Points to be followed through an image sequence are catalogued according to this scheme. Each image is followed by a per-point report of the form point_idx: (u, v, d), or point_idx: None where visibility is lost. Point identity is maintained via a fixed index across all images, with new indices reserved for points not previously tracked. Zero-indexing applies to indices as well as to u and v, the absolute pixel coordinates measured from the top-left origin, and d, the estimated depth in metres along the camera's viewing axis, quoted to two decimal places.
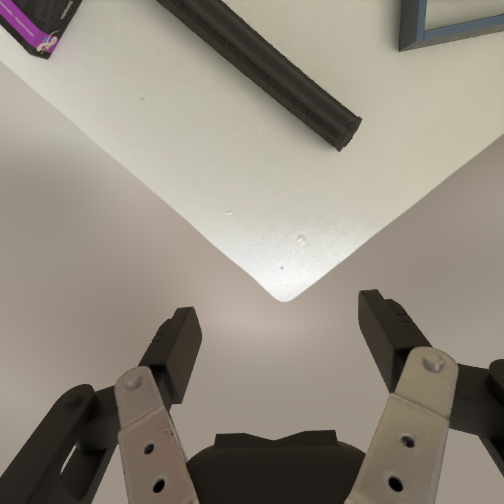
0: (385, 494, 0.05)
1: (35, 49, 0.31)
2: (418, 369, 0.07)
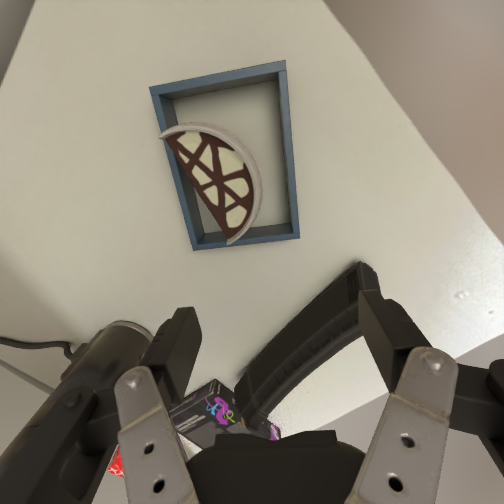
0: (385, 494, 0.05)
1: None
2: (418, 369, 0.07)
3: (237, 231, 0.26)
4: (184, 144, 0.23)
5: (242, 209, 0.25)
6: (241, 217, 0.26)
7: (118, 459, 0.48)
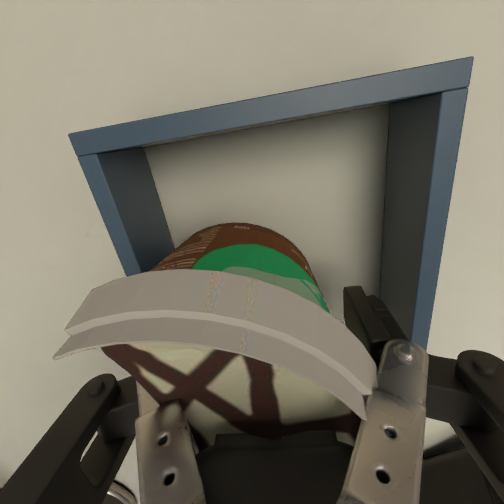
0: (374, 488, 0.05)
1: None
2: (393, 361, 0.08)
3: None
4: (154, 352, 0.07)
5: None
6: None
7: None
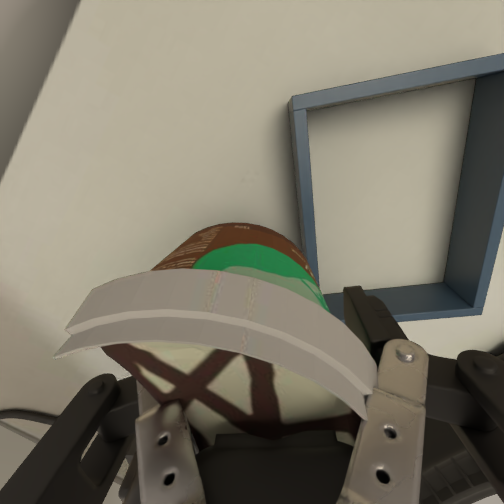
0: (374, 487, 0.05)
1: None
2: (393, 361, 0.08)
3: None
4: (155, 351, 0.07)
5: None
6: None
7: None
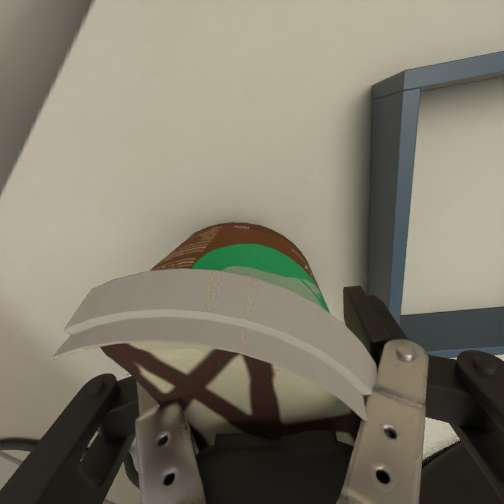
0: (374, 488, 0.05)
1: None
2: (393, 361, 0.08)
3: None
4: (154, 351, 0.07)
5: None
6: None
7: None
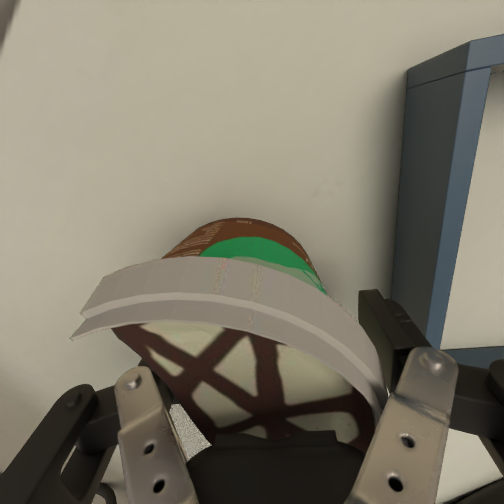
0: (385, 494, 0.05)
1: None
2: (418, 369, 0.07)
3: None
4: (165, 334, 0.07)
5: None
6: None
7: None
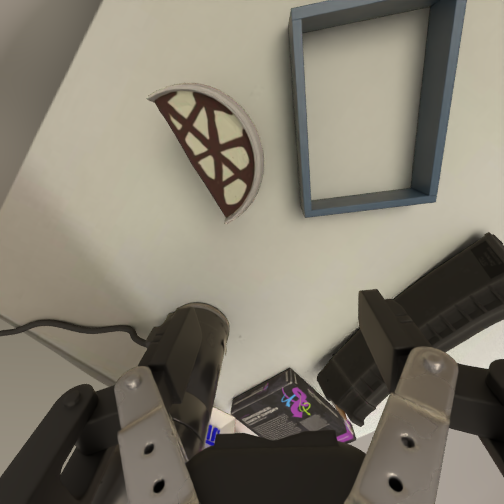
0: (385, 494, 0.05)
1: (353, 435, 0.47)
2: (418, 369, 0.07)
3: (236, 208, 0.24)
4: (175, 107, 0.20)
5: (241, 183, 0.23)
6: (240, 192, 0.23)
7: None
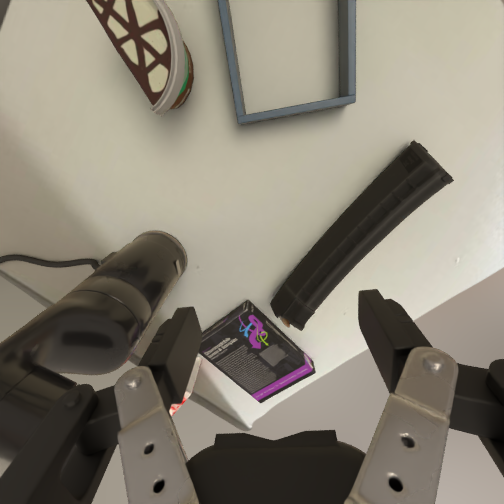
0: (385, 494, 0.05)
1: (312, 369, 0.49)
2: (418, 369, 0.07)
3: (161, 96, 0.26)
4: None
5: (163, 68, 0.25)
6: (163, 79, 0.25)
7: None
